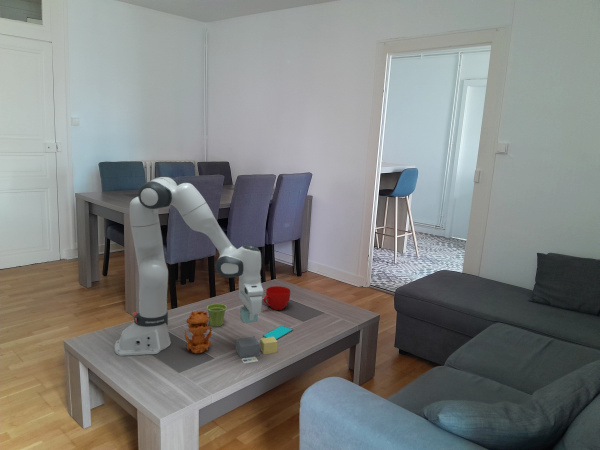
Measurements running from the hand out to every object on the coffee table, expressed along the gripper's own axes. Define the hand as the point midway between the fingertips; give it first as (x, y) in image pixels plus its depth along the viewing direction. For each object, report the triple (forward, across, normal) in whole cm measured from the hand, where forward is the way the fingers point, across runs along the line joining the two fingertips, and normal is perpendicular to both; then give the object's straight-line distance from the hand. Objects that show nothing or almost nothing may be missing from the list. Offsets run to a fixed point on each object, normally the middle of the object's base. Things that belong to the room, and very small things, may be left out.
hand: (248, 316), depth 182 cm
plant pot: (+16, -32, -6) cm, 36 cm away
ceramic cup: (+16, -43, +28) cm, 54 cm away
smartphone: (+17, -14, +19) cm, 29 cm away
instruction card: (+16, +6, -1) cm, 17 cm away
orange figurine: (+16, -8, -19) cm, 26 cm away
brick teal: (+2, 0, 0) cm, 2 cm away
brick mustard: (+16, +1, +9) cm, 19 cm away
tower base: (+16, 0, 0) cm, 16 cm away
